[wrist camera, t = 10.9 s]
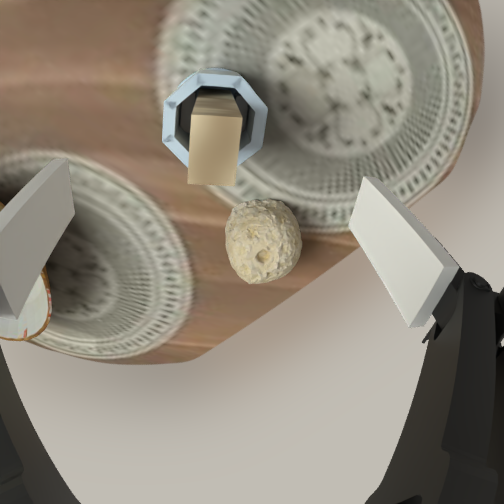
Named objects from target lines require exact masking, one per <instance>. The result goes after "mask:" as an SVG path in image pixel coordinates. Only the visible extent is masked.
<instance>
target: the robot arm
mask: <svg viewBox="0 0 504 504" xmlns="http://www.w3.org/2000/svg"><path fill="white" fill-rule="evenodd" d="M74 215H75V210H74V203H73V196H72V189H71V181H70V172H69V162H68V158H60V159H53V160H51V161H50V162H49V163H48V164H47V165H46V166H45V167H44V168H43V169H42V170H41V171H40V172H39V173H38V174H36V175H35V176H34V177H33V178H32V179H31V180H30V181H29V182H28V183H27V184H26V185H25V186H24V187H23V188H22V189H21V190H20V191H19V192H18V193H17V195H16V196H15V197H14V198H13V199H12V200H11V201H10V202H9V203H8V204H7V205H6V206H5V207H4V208H3V210H2V211H1V212H0V318H4V319H11V320H18V317H19V315H20V313H21V311H22V309H23V307H24V304H25V302H26V300H27V298H28V296H29V294H30V292H31V290H32V288H33V286H34V284H35V282H36V280H37V278H38V277H39V275H40V273H41V271H42V269H43V267H44V265H45V263H46V262H47V260H48V258H49V256H50V255H51V253H52V251H53V249H54V248H55V246H56V244H57V242H58V241H59V239H60V237H61V236H62V234H63V232H64V231H65V229H66V227H67V226H68V224H69V223H70V221H71V219H72V218H73V216H74ZM348 227H349V228H350V230H351V231H352V233H353V235H354V236H355V238H356V239H357V241H358V242H359V244H360V246H361V247H362V249H363V250H364V252H365V254H366V255H367V257H368V258H369V260H370V262H371V263H372V265H373V267H374V268H375V270H376V272H377V273H378V275H379V277H380V278H381V280H382V282H383V283H384V285H385V287H386V289H387V290H388V292H389V294H390V295H391V297H392V299H393V301H394V303H395V304H396V306H397V308H398V309H399V311H400V313H401V315H402V317H403V319H404V321H405V322H406V324H407V326H408V327H409V328H411V327H420V326H424V325H425V324H426V322H427V321H428V319H429V318H430V316H431V314H432V315H433V316H434V318H435V319H436V322H435V323H434V325H433V326H432V328H431V329H430V331H429V332H428V334H427V335H426V336H425V338H424V339H423V341H422V343H425V342H426V340H429V341H428V346H427V350H426V354H425V359H424V363H423V366H422V370H421V374H420V377H419V381H418V384H417V388H416V391H415V395H414V398H413V401H412V404H411V407H410V410H409V414H408V416H407V419H406V422H405V425H404V428H403V431H402V434H401V436H400V439H399V442H398V444H397V447H396V449H395V452H394V454H393V457H392V459H391V462H390V464H389V466H388V469H387V471H386V473H385V476H384V478H383V480H382V482H381V484H380V485H379V487H378V488H377V490H376V491H375V492H374V493H373V494H372V495H371V496H370V497H369V498H368V500H367V501H366V502H365V504H504V346H503V347H502V346H501V341H502V339H503V338H504V288H503V289H502V291H501V292H500V293H497V292H493V291H492V288H491V286H490V285H489V283H488V282H487V281H486V280H485V279H484V278H482V277H481V276H479V275H477V274H475V273H472V272H467V273H464V271H463V270H462V268H461V267H460V266H459V265H458V264H457V262H456V261H455V260H454V259H453V257H452V256H451V255H450V254H448V252H447V250H446V249H445V248H443V246H442V245H441V243H440V242H439V241H438V240H437V239H436V238H435V237H434V236H433V235H432V234H431V233H430V232H429V231H428V230H427V229H426V227H425V226H424V225H423V224H422V223H421V222H420V221H419V220H418V219H417V218H416V216H415V215H414V214H413V213H412V212H411V211H410V210H409V209H408V208H407V207H406V206H405V205H404V204H403V203H402V202H401V201H400V200H399V199H398V198H397V197H396V196H395V195H394V194H393V193H392V192H391V191H390V190H389V189H388V188H387V187H386V186H385V185H384V184H383V183H382V182H381V181H380V180H379V179H378V178H375V177H369V176H364V177H363V180H362V183H361V187H360V190H359V193H358V197H357V200H356V203H355V207H354V210H353V213H352V216H351V219H350V222H349V225H348ZM0 504H81V503H80V502H79V501H78V500H77V499H76V498H75V496H74V495H73V493H72V492H71V491H70V489H69V487H68V486H67V485H66V483H65V481H64V480H63V478H62V477H61V475H60V473H59V472H58V470H57V469H56V467H55V465H54V464H53V462H52V460H51V459H50V457H49V455H48V453H47V452H46V450H45V448H44V446H43V444H42V442H41V440H40V439H39V437H38V435H37V433H36V431H35V429H34V427H33V425H32V423H31V421H30V419H29V417H28V414H27V412H26V410H25V408H24V406H23V403H22V401H21V399H20V397H19V394H18V392H17V389H16V387H15V384H14V382H13V379H12V377H11V374H10V372H9V369H8V366H7V364H6V361H5V358H4V355H3V352H2V349H1V346H0Z"/></svg>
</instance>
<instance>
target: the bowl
mask: <svg viewBox="0 0 504 504" xmlns="http://www.w3.org/2000/svg"><path fill="white" fill-rule="evenodd" d="M4 207H5V205H3V204H2V203H1V202H0V212H1V211H2V210H3V208H4ZM51 312H52V304H51V292H50V284H49V278H48V274H47V270H46V266H45V265H44V267H43V269H42V271H41V273H40V275H39V277H38V278H37V280H36V282H35V284H34V286H33V288H32V290H31V292H30V294H29V296H28V298H27V300H26V302H25V304H24V307H23V309H22V311H21V313H20V315H19V317H18V320H11V319H4V318H0V339H5V340H10V341H23V340H30V339H32V338H34V337H36V336H38V335H39V334H41V333H42V332H43V331H44V330H45V329H46V327H47V325H48V323H49V321H50V317H51Z"/></svg>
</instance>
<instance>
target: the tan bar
mask: <svg viewBox="0 0 504 504" xmlns="http://www.w3.org/2000/svg"><path fill="white" fill-rule="evenodd" d="M242 119H243V117H242V115H241V113H240V111H239V108H238V106H237V104H236V102H235V99H234V97H233V95H232V93H231V90H221V89H205V88H200V90H199V93H198V96H197V99H196V102H195V105H194V108H193V111H192V114H191V128H190V144H189V162H188V184H202V185H223V186H235V179H236V170H237V161H238V153H239V144H240V136H241V127H242Z"/></svg>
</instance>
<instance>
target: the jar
mask: <svg viewBox="0 0 504 504" xmlns="http://www.w3.org/2000/svg"><path fill="white" fill-rule="evenodd" d="M200 88H205V89H221V90H231V93H232V95H233V97H234V99H235V102H236V104H237V106H238V108H239V111H240V113H241V115H242V117H243V119H242V127H241V136H240V144H239V153H238V161H237V166H238V165H240V164H241V163H242V162H244V161H245V160H246V159H248V158H249V157H250V156H252V155H253V154H254V153H256V152H257V151H258V150H260V149H261V148H262V145H263V138H264V132H265V125H266V119H267V112H268V108H267V107H266V105H265V104H264V103H263V102H262V100H261V99H260V98H259V97H258V95H257V94H256V93H255V92H254V91H253V89H252V87H251V86H250V85H249V83H248V82H247V81H246V80H245V79H244V78H243V77H242V76H241V75H239V74H238V73H237V72H235V71H230V70H227V69H223V68H207V69H200V70H199V71H197V72H195V73H193V74H191V75H190V76H188V77H187V78H186V79H185V80H184V81H183V82H182V83H181V84H180V85H179V86H178V88H177V89H176V90H175V91H173V92H172V93H171V95H170V96H169V97H168V98H167V99H166V100H165V101H164V113H163V134H162V142H163V143H164V144H165V145H166V146H167V147H168V148H169V149H170V150H171V151H172V152H173V153H174V154H175V155H176V156H177V157H178V158H179V159H180V160H181V161H182V162H183V163H184V164H185V165H186V166H187V167H188V162H189V144H190V128H191V114H192V111H193V108H194V105H195V102H196V99H197V96H198V93H199V90H200Z"/></svg>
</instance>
